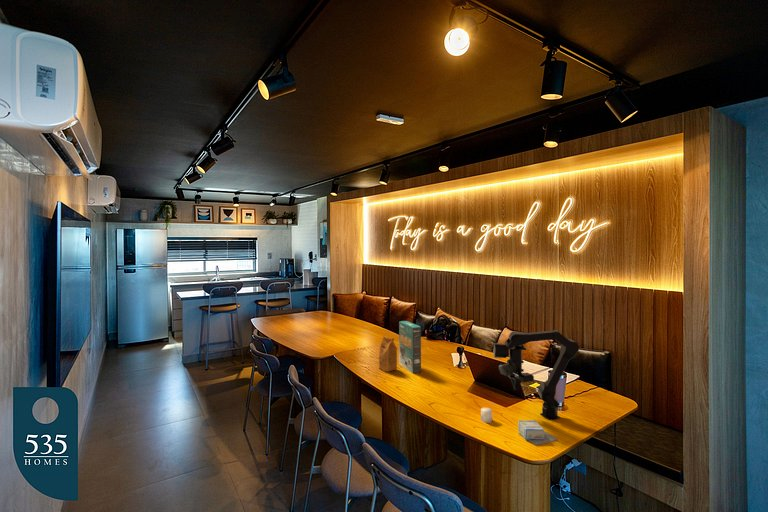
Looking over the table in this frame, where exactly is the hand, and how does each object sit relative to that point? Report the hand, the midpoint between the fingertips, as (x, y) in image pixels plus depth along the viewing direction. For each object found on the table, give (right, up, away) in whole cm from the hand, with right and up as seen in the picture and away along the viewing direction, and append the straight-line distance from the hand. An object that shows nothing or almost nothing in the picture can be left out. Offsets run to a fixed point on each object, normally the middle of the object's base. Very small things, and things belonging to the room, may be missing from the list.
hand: (515, 389), depth 179 cm
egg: (-16, -12, -6) cm, 21 cm away
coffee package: (-62, -11, +68) cm, 93 cm away
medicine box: (-1, -10, -16) cm, 19 cm away
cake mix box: (-47, -11, +71) cm, 86 cm away
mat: (+2, -12, -22) cm, 25 cm away
